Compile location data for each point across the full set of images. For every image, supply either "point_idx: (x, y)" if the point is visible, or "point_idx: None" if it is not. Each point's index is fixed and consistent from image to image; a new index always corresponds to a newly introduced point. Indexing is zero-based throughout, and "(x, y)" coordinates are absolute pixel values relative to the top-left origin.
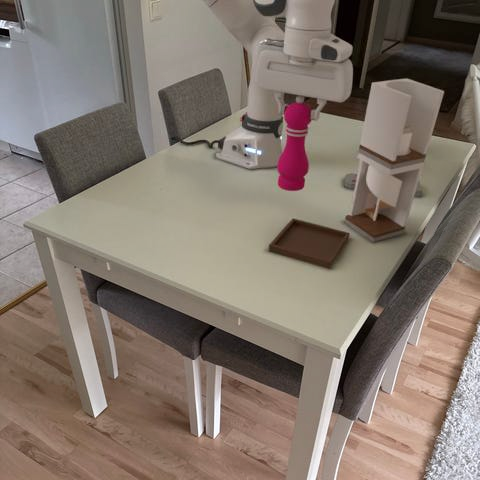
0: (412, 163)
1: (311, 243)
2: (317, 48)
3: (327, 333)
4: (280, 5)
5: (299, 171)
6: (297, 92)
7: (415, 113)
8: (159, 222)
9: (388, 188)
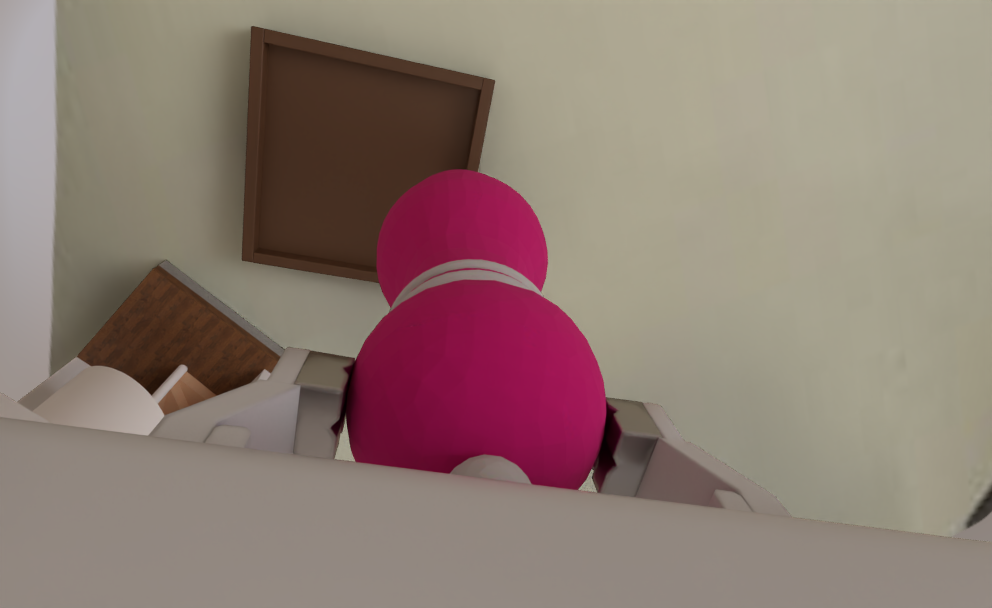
0: None
1: (359, 170)
2: None
3: None
4: None
5: (411, 191)
6: (527, 497)
7: None
8: (885, 151)
9: (56, 397)
